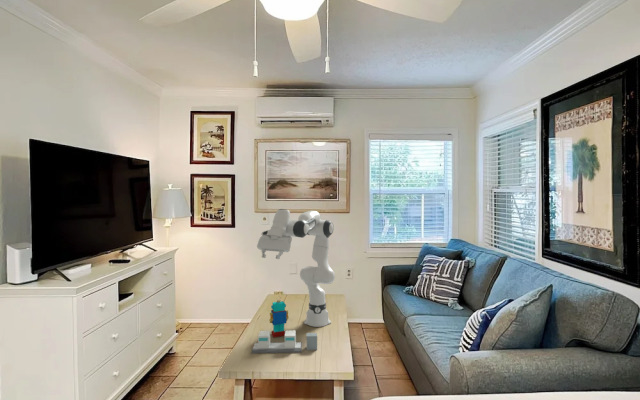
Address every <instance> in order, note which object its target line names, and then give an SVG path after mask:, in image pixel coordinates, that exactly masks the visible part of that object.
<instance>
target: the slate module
mask: <svg viewBox="0 0 640 400" xmlns="http://www.w3.org/2000/svg"><path fill="white" fill-rule="evenodd" d="M306 351H318V333H317V332H306Z"/></svg>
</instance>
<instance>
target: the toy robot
mask: <svg viewBox="0 0 640 400" xmlns="http://www.w3.org/2000/svg"><path fill="white" fill-rule="evenodd" d="M279 297H280V296H279ZM286 307H287V304H286V303H285V302H284V300H283V301H281V297H280V299H276V301H274V302H272V305H271V310H270V312H269V316H270V318H269V324H272V327H273V329H272V331H270V335H271V337H272V338H277V337H285V331H286V330H285V324H287V321H288V320H289V310H287V309H286Z"/></svg>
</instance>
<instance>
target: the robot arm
mask: <svg viewBox="0 0 640 400" xmlns="http://www.w3.org/2000/svg"><path fill="white" fill-rule="evenodd" d="M290 215H291V211H290V210H288V209H285V208H278V209H277V210H276V212H275V214H274V217H273V220H272V225H271V227H270V229H267V230H264V231H262V232H261V236H260V237H259V239H258V242H257V245H256V247H257V249H258V250H260V251H261V258H263V259H265V258H267V257H266V256H267V254H266V252H268V251H269V252H278V254H276V255H275V259H276V260H280V258H281V256H282V255H283V254H284V253H289V252H290V251H291V244H292V239H293V237H295V238H296V237H297V238H305V237H306V236H307V235H308V236H315V238H314V241H313V244H312V245H313V246H312V252H311V253H312V254H311V257H312V260H314V261H315V262H316V263H317V266H310V265H309V266H303V267H302V268H301V269H300V272H299V276H300V280H301V281H303V283H304V284H305V285H306V287H307V290H308V294H309V295H308V297H309V301H308V310H307V311H306V312H305V313H306V317H305V320H304V321H303V324H304V325H308V326H310V327H315V328H317V327H318V328H320V327H325V326H327V325H330V324H332V321H331V319H330V318H329V311H328V310H327V302H326V291H325V289H323V288H322V286H320V284H322V285H330V284H333V283H334V282H335V279H336V273H335V271H334V270H333V269H332V267H331V266H330V262H329V249H330V237H331V235H332V234H333V233H334V228H335V227H334V224H333V222H332V221H331V220H327V219H326V220H325V219H322V218H321V214H320V213H319V212H318V211H316V210H308V211H305V212H302V213H300V215H299V216H298V219H297V220H295V219H294V220H293V219H292V218H291V217H290ZM291 219H292V220H291Z"/></svg>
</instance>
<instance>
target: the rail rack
mask: <svg viewBox="0 0 640 400" xmlns="http://www.w3.org/2000/svg"><path fill="white" fill-rule="evenodd" d="M284 331H285V336H284V342H271V330H260V331H259V333H258V336H257V342H254V343H253V346H252V349H251V354H285V353H286V354H287V353H288V354H290V353H291V354H293V353H295V354H297V353H299V354H300V353H302V349H303V348H302V347H303V346H302V345H303V342H301V341H300V342H297V334H296V333H297V332H296V331H297V330H295V329H293V330H290V329H289V330H284Z"/></svg>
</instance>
